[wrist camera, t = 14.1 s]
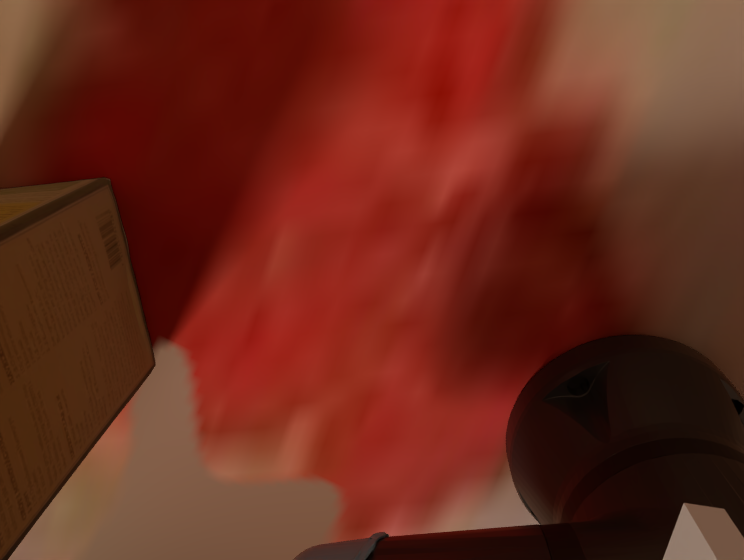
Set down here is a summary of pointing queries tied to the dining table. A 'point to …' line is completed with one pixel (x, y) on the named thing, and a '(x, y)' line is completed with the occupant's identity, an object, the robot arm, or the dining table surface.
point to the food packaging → (61, 339)
